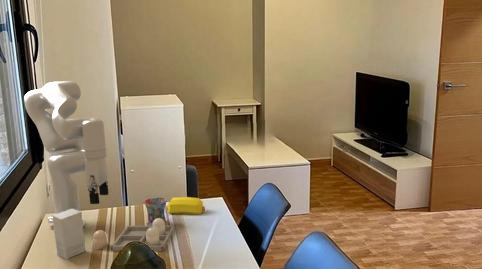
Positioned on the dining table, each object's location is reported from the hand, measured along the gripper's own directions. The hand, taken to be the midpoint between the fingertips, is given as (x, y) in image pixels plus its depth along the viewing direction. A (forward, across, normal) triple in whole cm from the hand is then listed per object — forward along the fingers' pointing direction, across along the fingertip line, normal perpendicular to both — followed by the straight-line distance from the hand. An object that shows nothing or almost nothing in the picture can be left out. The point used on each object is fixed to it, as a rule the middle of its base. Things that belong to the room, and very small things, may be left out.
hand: (99, 199), depth 170 cm
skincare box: (+19, +6, -10) cm, 22 cm away
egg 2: (+18, -10, +19) cm, 28 cm away
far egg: (+18, 0, +19) cm, 26 cm away
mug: (+19, -22, +16) cm, 33 cm away
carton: (+19, -5, +14) cm, 24 cm away
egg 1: (+19, +1, -1) cm, 19 cm away
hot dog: (+19, -36, +25) cm, 48 cm away
